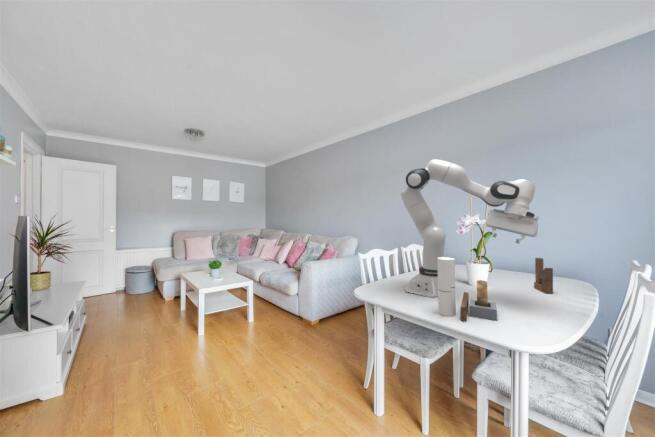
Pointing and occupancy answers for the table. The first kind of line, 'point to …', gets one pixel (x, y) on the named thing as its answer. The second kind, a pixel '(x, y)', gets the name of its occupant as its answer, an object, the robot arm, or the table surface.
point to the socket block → (483, 310)
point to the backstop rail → (464, 306)
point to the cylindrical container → (446, 286)
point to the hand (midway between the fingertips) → (505, 240)
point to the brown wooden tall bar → (482, 293)
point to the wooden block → (543, 277)
